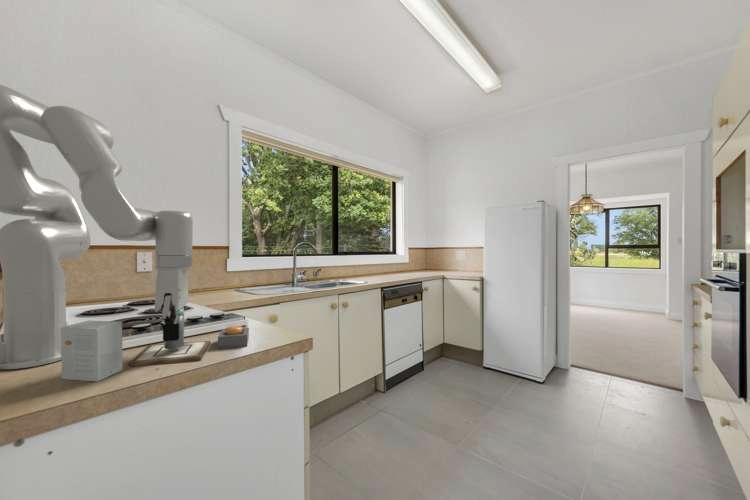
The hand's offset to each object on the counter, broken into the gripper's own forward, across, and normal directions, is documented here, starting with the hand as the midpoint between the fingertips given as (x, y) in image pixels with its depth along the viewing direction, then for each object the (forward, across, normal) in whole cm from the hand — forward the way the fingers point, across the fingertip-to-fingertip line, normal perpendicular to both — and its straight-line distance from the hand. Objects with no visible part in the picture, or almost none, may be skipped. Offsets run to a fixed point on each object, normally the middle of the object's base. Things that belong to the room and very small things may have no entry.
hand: (173, 336), depth 76 cm
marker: (+2, 0, 0) cm, 2 cm away
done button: (+2, -5, +13) cm, 14 cm away
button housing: (+4, -5, +13) cm, 15 cm away
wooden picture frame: (+4, 0, 0) cm, 4 cm away
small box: (+4, +9, -12) cm, 16 cm away
